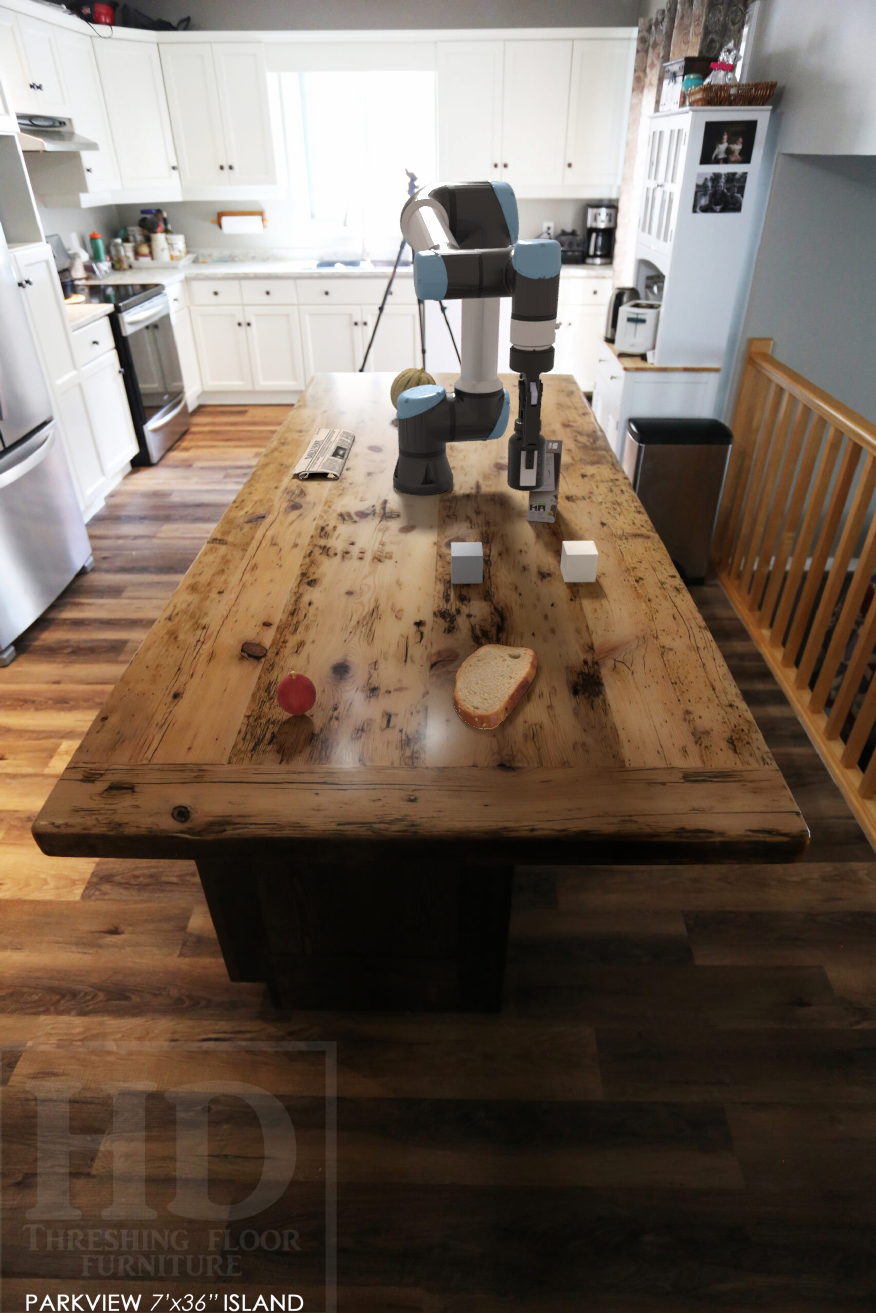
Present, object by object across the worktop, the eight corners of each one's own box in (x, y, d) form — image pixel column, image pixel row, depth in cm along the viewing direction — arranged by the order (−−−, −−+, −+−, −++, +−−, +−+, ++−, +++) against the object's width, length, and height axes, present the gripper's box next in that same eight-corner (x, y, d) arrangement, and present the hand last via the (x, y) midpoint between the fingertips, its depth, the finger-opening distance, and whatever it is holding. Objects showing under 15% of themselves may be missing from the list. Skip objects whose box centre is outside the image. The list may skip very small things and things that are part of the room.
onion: (281, 703, 117) (274, 660, 112) (319, 701, 117) (314, 658, 112) (278, 727, 112) (270, 683, 107) (317, 725, 112) (311, 681, 108)
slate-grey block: (451, 584, 148) (451, 556, 145) (451, 569, 153) (450, 542, 149) (482, 583, 148) (482, 555, 144) (481, 569, 153) (481, 542, 149)
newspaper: (339, 481, 196) (337, 468, 194) (291, 481, 196) (289, 468, 194) (356, 437, 225) (355, 425, 223) (314, 438, 225) (312, 426, 223)
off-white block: (564, 582, 148) (566, 554, 144) (560, 568, 153) (562, 541, 149) (595, 582, 148) (598, 554, 144) (590, 568, 153) (593, 540, 149)
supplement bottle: (547, 480, 142) (551, 416, 135) (539, 494, 137) (543, 427, 130) (511, 476, 144) (514, 413, 137) (502, 489, 139) (504, 424, 132)
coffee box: (555, 523, 171) (560, 453, 162) (526, 521, 172) (530, 451, 163) (558, 507, 178) (563, 439, 169) (530, 505, 179) (534, 438, 170)
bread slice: (474, 737, 110) (475, 716, 108) (422, 673, 123) (422, 654, 121) (578, 703, 116) (580, 683, 114) (518, 646, 130) (519, 627, 128)
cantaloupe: (384, 414, 242) (382, 365, 234) (426, 408, 247) (425, 359, 239) (402, 426, 231) (400, 375, 223) (446, 420, 236) (445, 369, 228)
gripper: (562, 358, 119) (552, 497, 131) (548, 332, 135) (540, 458, 148) (514, 359, 119) (509, 498, 132) (505, 333, 135) (501, 459, 148)
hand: (525, 477), depth 140 cm, fingers closed on supplement bottle, 7 cm apart
